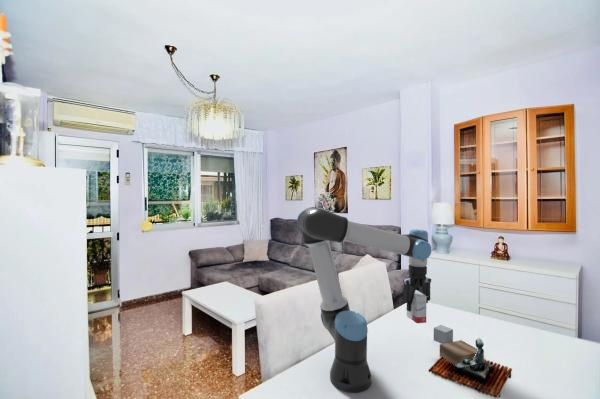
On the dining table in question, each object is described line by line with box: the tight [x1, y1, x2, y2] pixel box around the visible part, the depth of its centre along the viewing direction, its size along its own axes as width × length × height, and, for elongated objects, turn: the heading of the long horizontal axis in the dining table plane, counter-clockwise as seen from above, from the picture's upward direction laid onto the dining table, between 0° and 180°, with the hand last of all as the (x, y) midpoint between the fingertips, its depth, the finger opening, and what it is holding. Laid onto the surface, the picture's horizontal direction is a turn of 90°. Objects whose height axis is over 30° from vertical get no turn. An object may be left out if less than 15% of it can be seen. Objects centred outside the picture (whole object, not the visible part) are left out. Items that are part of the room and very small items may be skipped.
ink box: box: [406, 289, 427, 324], centre depth 132 cm, size 9×5×12 cm, turn 8°
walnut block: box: [439, 339, 479, 366], centre depth 125 cm, size 12×10×5 cm
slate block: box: [433, 324, 454, 344], centre depth 141 cm, size 6×6×6 cm
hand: (416, 317), depth 132 cm, fingers closed on ink box, 6 cm apart
